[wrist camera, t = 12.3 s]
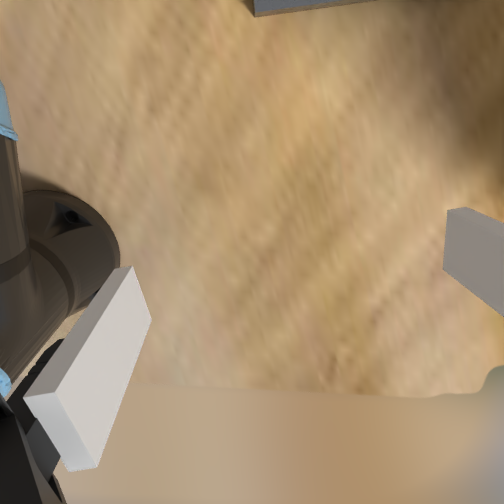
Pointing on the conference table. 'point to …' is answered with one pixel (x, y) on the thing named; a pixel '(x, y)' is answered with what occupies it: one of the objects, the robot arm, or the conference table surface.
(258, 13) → the housing plate
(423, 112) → the conference table surface
